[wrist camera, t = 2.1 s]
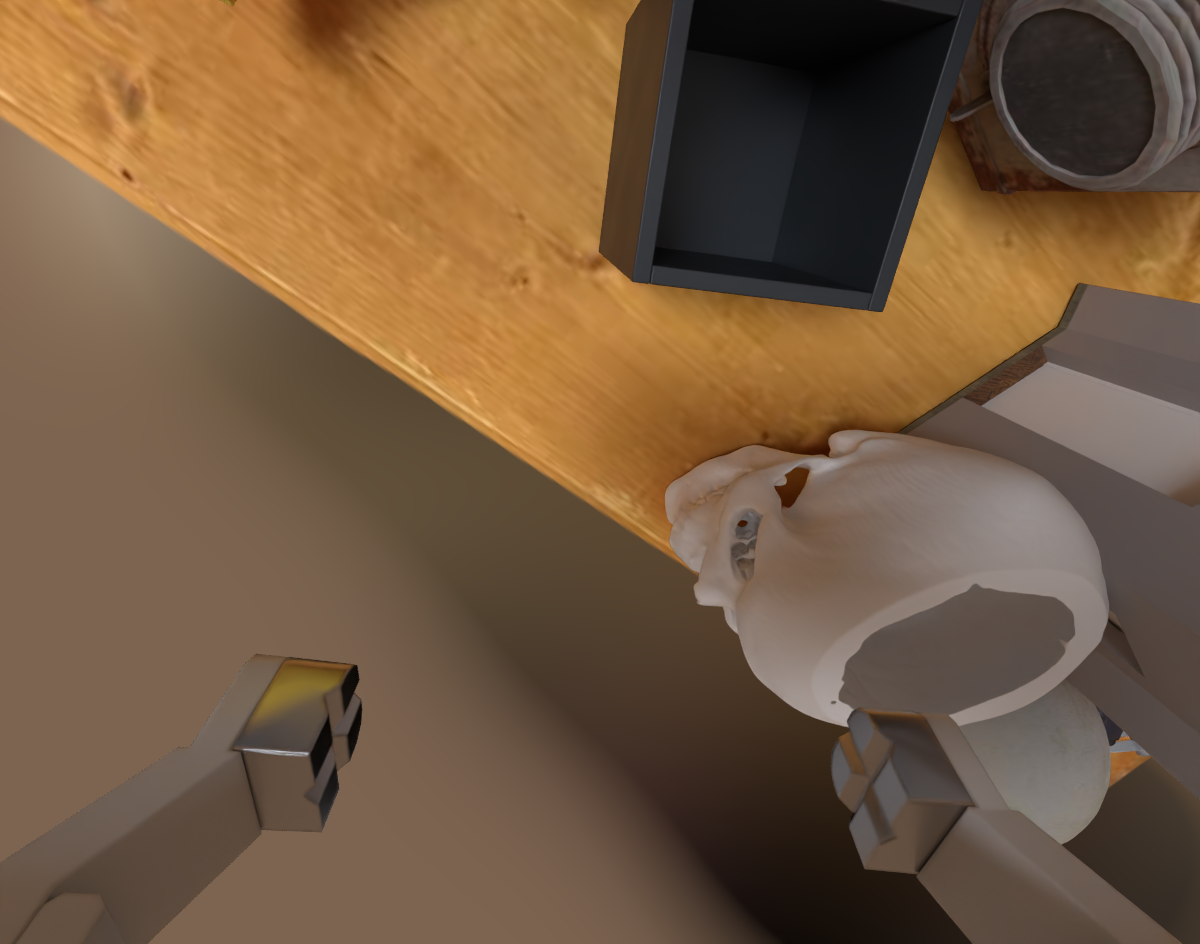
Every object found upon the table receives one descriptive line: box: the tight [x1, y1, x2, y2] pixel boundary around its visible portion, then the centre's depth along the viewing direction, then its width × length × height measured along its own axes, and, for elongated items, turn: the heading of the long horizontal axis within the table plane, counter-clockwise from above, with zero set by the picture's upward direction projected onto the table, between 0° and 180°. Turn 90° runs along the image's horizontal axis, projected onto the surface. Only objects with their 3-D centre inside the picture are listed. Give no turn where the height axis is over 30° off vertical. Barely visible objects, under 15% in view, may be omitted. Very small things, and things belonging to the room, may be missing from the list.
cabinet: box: [897, 283, 1200, 800], centre depth 28 cm, size 21×10×28 cm, turn 171°
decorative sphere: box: [959, 678, 1111, 845], centre depth 42 cm, size 15×15×15 cm
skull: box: [665, 430, 1109, 727], centre depth 33 cm, size 13×18×20 cm
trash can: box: [599, 0, 983, 312], centre depth 26 cm, size 10×10×12 cm
